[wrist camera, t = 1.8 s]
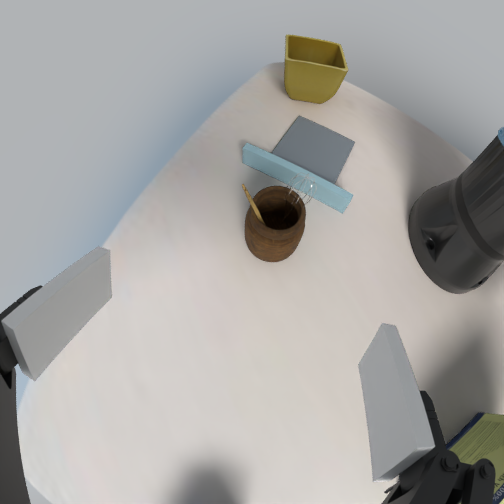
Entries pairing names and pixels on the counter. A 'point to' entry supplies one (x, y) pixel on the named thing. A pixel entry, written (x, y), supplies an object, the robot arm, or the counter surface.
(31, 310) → the robot arm
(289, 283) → the counter surface
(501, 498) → the protein box
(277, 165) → the acrylic wall
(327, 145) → the slate pad
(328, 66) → the flower pot
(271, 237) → the utensil holder
